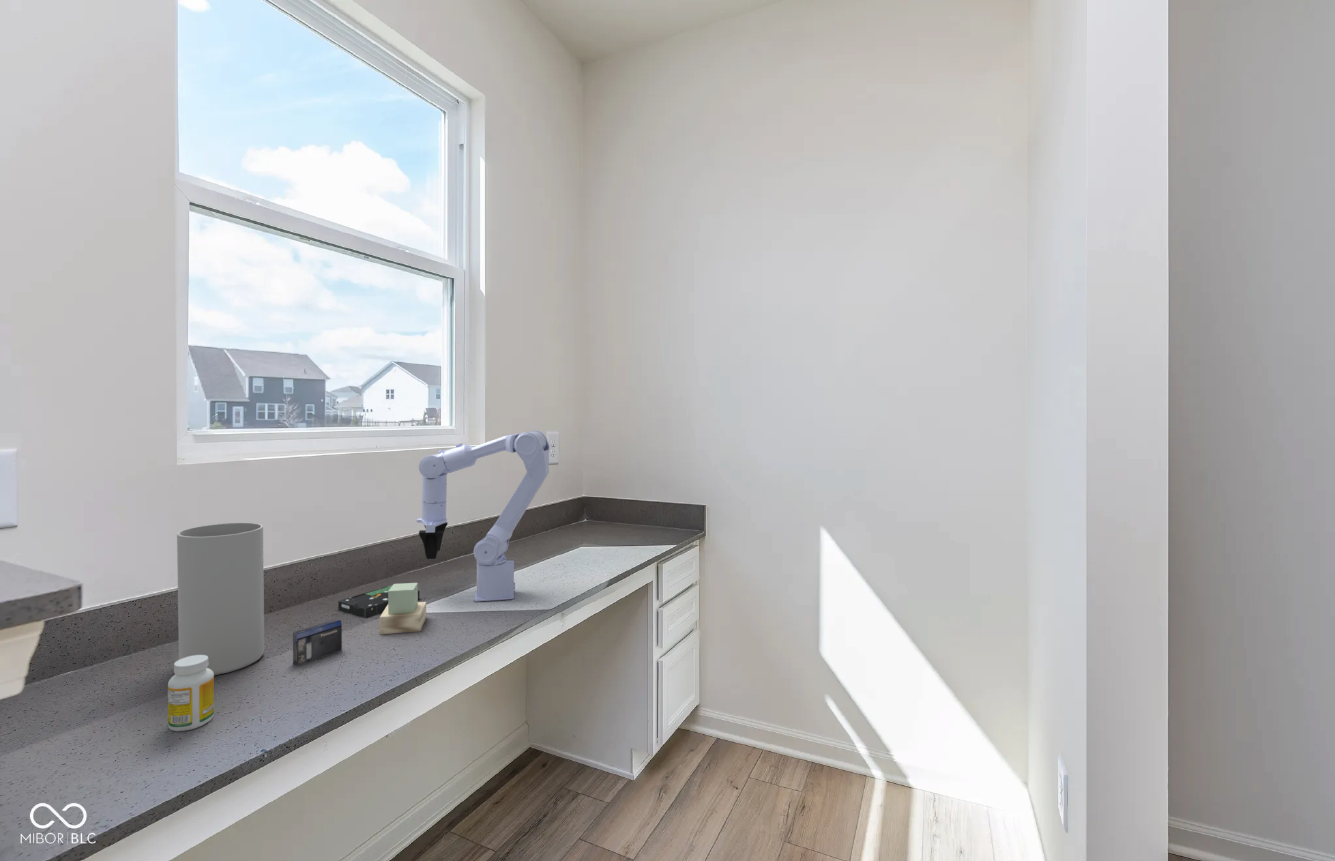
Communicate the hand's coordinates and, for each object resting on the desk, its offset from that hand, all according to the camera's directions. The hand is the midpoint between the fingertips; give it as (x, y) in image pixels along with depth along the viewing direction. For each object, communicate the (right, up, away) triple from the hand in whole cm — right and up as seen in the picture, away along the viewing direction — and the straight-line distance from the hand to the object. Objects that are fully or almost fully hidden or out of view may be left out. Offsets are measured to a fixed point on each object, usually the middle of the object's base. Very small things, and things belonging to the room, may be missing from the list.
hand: (433, 554), depth 146 cm
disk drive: (-10, -11, -7) cm, 17 cm away
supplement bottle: (-12, -13, -59) cm, 62 cm away
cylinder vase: (-23, -12, -39) cm, 47 cm away
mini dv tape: (-7, -12, -36) cm, 39 cm away
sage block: (+2, -8, -20) cm, 22 cm away
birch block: (+2, -12, -20) cm, 23 cm away
